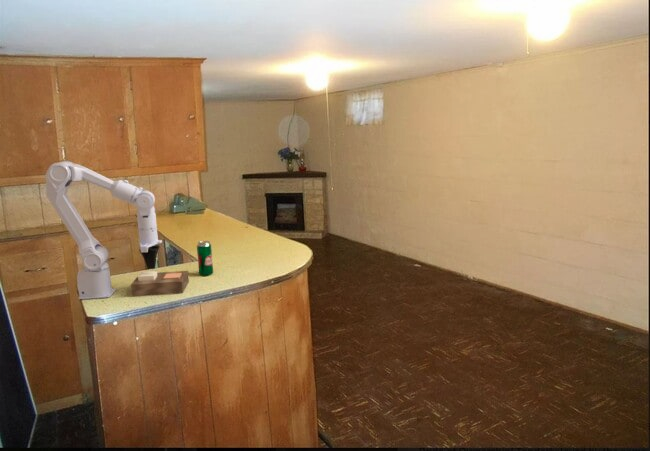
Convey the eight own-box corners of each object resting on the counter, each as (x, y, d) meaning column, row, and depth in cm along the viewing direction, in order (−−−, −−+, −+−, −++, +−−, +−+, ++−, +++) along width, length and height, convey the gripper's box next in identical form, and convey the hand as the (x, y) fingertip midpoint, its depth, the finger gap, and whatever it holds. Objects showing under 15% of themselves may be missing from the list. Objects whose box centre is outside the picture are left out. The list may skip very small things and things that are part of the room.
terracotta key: (164, 285, 164) (163, 278, 164) (167, 280, 169) (166, 273, 168) (179, 284, 165) (178, 277, 164) (182, 279, 169) (181, 272, 169)
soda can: (208, 276, 178) (205, 244, 176) (196, 275, 180) (193, 243, 178) (216, 272, 183) (213, 241, 181) (204, 271, 185) (201, 240, 183)
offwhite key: (138, 283, 163) (137, 276, 163) (142, 279, 168) (141, 272, 167) (154, 282, 164) (153, 275, 163) (157, 278, 168) (156, 271, 168)
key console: (131, 296, 160) (130, 284, 159) (141, 284, 172) (140, 273, 171) (182, 293, 162) (181, 281, 161) (188, 281, 173) (187, 270, 173)
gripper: (155, 232, 156) (159, 274, 158) (164, 223, 170) (168, 261, 173) (131, 233, 155) (136, 275, 158) (143, 224, 169) (147, 262, 172)
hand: (151, 268), depth 165 cm, fingers closed
